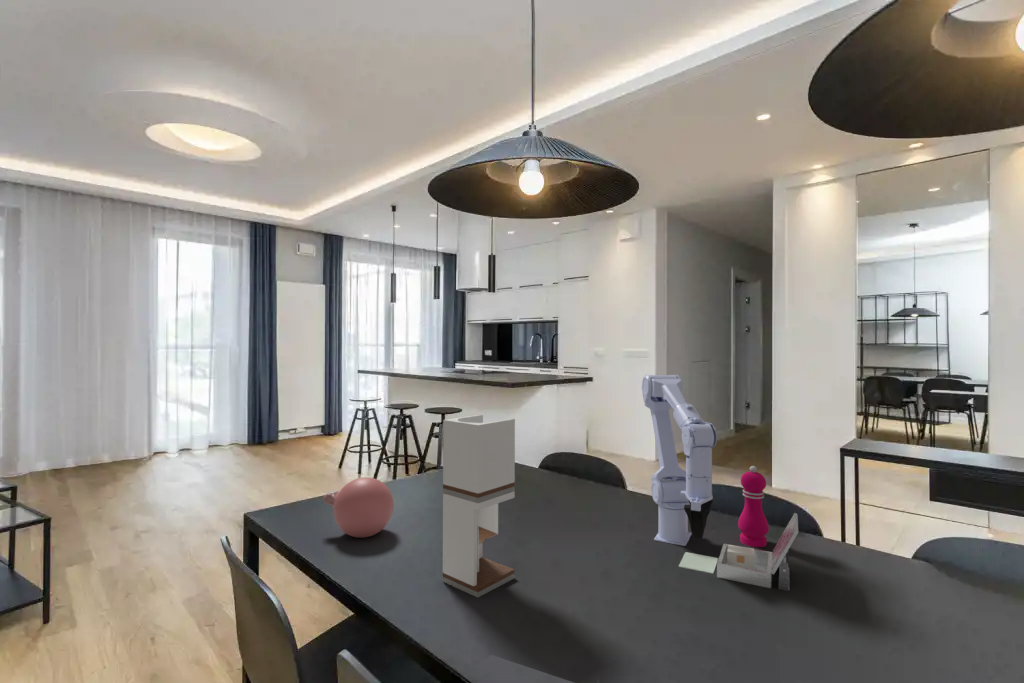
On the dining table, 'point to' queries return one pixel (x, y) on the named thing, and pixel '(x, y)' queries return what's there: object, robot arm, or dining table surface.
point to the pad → (698, 562)
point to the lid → (784, 543)
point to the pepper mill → (753, 510)
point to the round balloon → (362, 507)
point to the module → (740, 556)
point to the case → (754, 570)
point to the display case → (475, 499)
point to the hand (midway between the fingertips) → (698, 532)
